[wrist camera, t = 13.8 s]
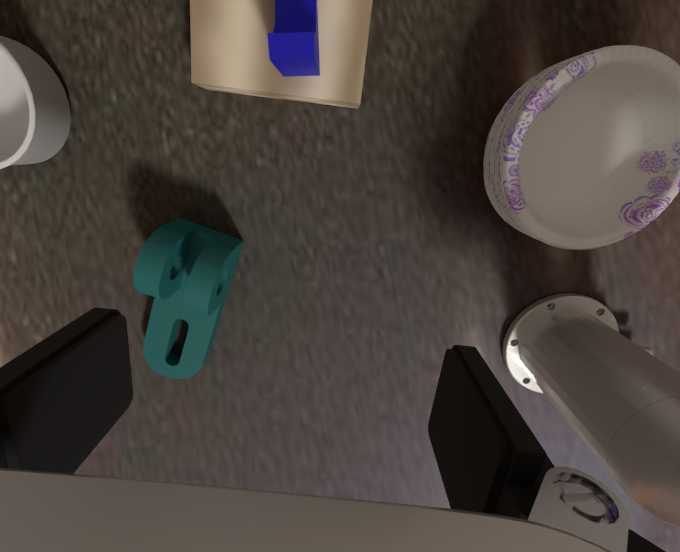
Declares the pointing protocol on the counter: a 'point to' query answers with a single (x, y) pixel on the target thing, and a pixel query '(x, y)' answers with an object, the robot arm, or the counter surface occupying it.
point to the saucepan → (29, 107)
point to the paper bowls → (588, 148)
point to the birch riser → (253, 52)
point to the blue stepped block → (295, 38)
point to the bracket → (184, 292)
